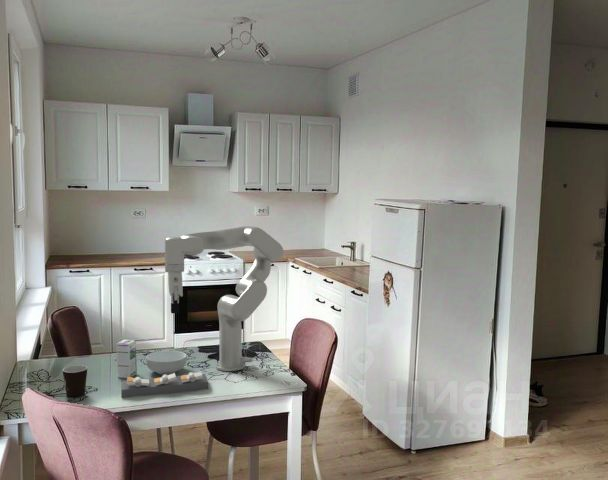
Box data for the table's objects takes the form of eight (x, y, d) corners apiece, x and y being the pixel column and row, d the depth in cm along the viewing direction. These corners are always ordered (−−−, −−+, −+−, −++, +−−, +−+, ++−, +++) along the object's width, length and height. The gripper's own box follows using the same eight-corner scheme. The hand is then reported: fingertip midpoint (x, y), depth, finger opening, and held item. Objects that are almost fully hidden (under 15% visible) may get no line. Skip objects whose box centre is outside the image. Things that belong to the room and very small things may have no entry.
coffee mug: (84, 398, 209) (83, 372, 208) (59, 399, 208) (59, 372, 207) (93, 387, 220) (92, 362, 219) (70, 388, 219) (69, 362, 219)
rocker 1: (148, 383, 218) (149, 377, 218) (148, 387, 214) (149, 381, 214) (126, 382, 215) (127, 375, 215) (126, 385, 211) (127, 379, 211)
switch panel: (205, 381, 229) (204, 373, 229) (208, 389, 220) (208, 381, 219) (121, 388, 220) (121, 380, 219) (121, 397, 210) (121, 388, 210)
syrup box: (130, 378, 231) (129, 343, 230) (116, 377, 232) (116, 342, 231) (136, 374, 237) (136, 340, 236) (123, 373, 238) (123, 339, 237)
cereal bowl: (172, 380, 230) (172, 363, 229) (137, 375, 235) (137, 358, 235) (194, 368, 245) (194, 352, 245) (161, 363, 251) (161, 348, 250)
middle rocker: (175, 376, 221) (174, 371, 220) (176, 380, 217) (175, 374, 216) (155, 383, 219) (153, 378, 218) (156, 387, 215) (154, 381, 214)
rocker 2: (201, 375, 224) (200, 369, 223) (203, 379, 220) (202, 373, 219) (181, 380, 222) (180, 374, 221) (182, 384, 217) (181, 378, 217)
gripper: (186, 270, 223) (186, 316, 224) (182, 265, 237) (182, 308, 238) (166, 270, 220) (166, 317, 222) (163, 265, 235) (164, 309, 236)
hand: (175, 312), depth 230 cm, fingers closed
